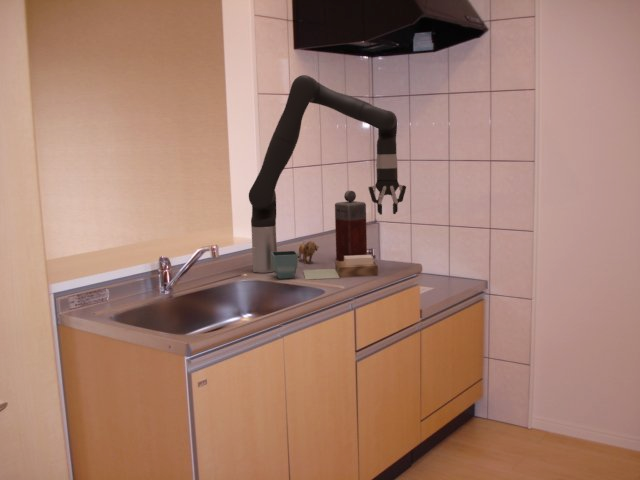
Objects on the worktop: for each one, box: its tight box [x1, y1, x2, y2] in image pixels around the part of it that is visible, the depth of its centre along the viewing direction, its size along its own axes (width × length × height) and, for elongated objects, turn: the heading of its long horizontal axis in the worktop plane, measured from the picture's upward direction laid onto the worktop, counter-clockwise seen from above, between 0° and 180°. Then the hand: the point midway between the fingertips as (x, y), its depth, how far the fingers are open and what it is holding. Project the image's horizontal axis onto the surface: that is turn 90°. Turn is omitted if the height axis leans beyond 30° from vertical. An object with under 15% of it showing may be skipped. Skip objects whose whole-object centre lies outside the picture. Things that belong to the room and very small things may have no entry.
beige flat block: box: [344, 254, 374, 266], centre depth 263 cm, size 10×6×2 cm, turn 95°
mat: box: [302, 268, 341, 281], centre depth 263 cm, size 12×16×1 cm
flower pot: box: [271, 250, 299, 280], centre depth 259 cm, size 9×9×9 cm
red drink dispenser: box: [334, 190, 368, 261], centre depth 287 cm, size 9×11×28 cm
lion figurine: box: [298, 240, 320, 265], centre depth 289 cm, size 15×5×9 cm, turn 30°
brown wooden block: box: [334, 260, 379, 278], centre depth 264 cm, size 14×12×4 cm
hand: (387, 213), depth 262 cm, fingers open, 4 cm apart
